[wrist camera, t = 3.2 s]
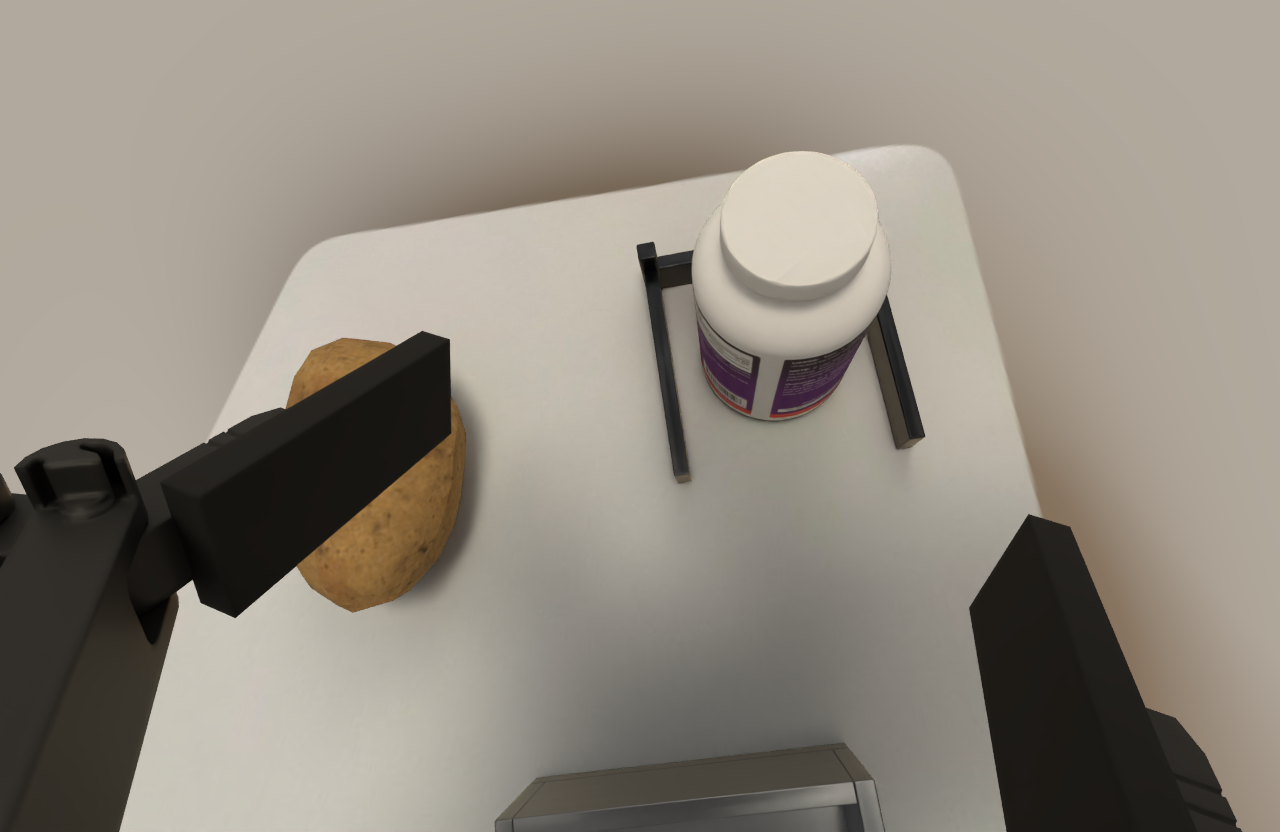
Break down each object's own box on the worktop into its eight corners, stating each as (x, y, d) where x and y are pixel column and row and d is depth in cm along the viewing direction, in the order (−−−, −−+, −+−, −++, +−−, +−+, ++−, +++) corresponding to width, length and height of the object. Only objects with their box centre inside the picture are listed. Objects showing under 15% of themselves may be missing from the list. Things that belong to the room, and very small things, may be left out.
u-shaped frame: (858, 239, 37) (874, 199, 33) (913, 447, 33) (938, 429, 30) (645, 278, 38) (636, 244, 34) (675, 483, 34) (669, 471, 31)
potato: (331, 618, 35) (222, 627, 27) (334, 385, 39) (240, 336, 31) (497, 596, 34) (432, 599, 26) (483, 360, 38) (423, 303, 30)
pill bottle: (850, 303, 36) (930, 127, 22) (834, 435, 34) (910, 333, 20) (712, 287, 37) (706, 112, 24) (689, 413, 35) (668, 303, 22)
